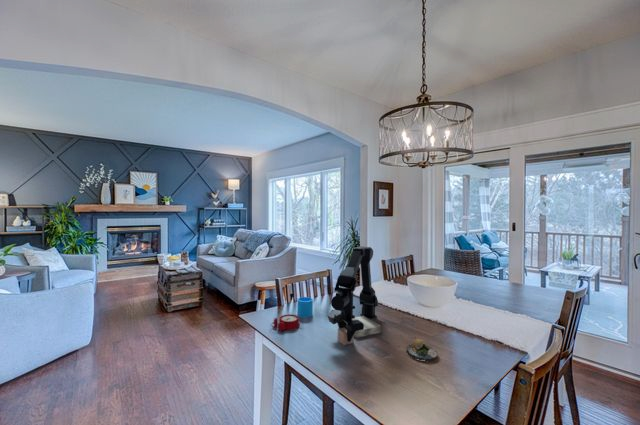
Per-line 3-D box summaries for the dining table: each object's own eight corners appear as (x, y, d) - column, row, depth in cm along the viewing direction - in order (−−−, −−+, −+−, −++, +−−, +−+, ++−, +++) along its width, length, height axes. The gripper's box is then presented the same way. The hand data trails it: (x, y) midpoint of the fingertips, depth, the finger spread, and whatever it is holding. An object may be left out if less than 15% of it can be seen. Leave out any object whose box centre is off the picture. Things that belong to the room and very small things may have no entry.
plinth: (363, 321, 148) (363, 315, 148) (380, 332, 136) (380, 326, 136) (339, 326, 142) (339, 320, 142) (355, 337, 129) (355, 331, 129)
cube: (347, 338, 129) (347, 326, 129) (353, 342, 125) (353, 331, 125) (337, 340, 127) (337, 328, 127) (343, 345, 122) (343, 333, 122)
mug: (314, 316, 154) (315, 300, 154) (300, 318, 151) (300, 302, 151) (307, 308, 165) (307, 294, 165) (293, 310, 162) (293, 295, 162)
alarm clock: (306, 319, 140) (279, 318, 132) (303, 332, 140) (276, 332, 131) (294, 312, 149) (268, 311, 140) (292, 325, 148) (266, 325, 139)
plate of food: (434, 366, 108) (434, 346, 108) (402, 357, 114) (403, 338, 114) (440, 352, 118) (440, 334, 118) (410, 345, 124) (411, 327, 124)
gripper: (320, 299, 130) (319, 333, 130) (341, 313, 113) (340, 352, 114) (341, 296, 135) (340, 329, 135) (365, 309, 119) (364, 347, 119)
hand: (345, 339), depth 126 cm, fingers closed on cube, 5 cm apart
